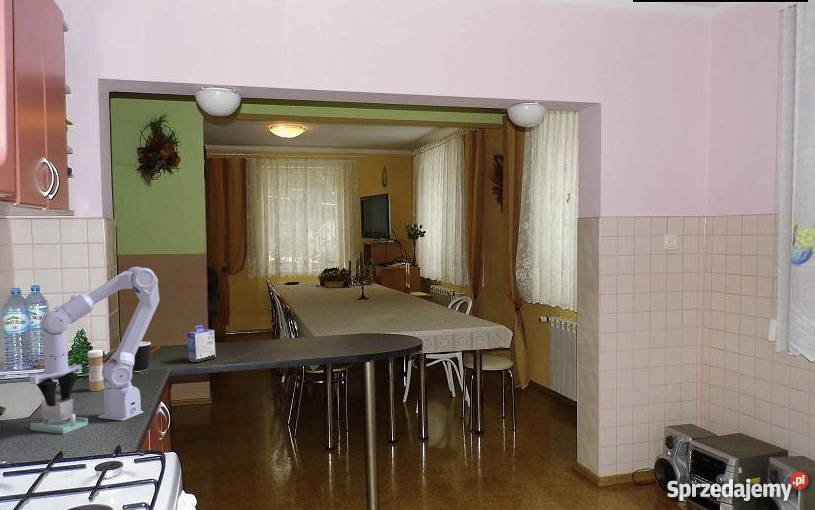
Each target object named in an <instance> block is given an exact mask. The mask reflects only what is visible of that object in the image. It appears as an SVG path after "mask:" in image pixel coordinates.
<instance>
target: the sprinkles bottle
mask: <svg viewBox="0 0 815 510" xmlns="http://www.w3.org/2000/svg"><path fill="white" fill-rule="evenodd" d="M103 356H104V353H103V349H92V350H89V351H87V358H88V380H89V391H91V392H96V391H97V392H98V391H103V390H104V384H105V382H104V379H105V378H104V377H103V375H102V369H103V367H104V363H103V361H104V360H103Z"/></svg>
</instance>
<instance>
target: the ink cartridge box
mask: <svg viewBox="0 0 815 510" xmlns="http://www.w3.org/2000/svg"><path fill="white" fill-rule="evenodd" d="M194 329H195V331H191V332H188V333H186V335H187V337H186V338H187V349H188V350H187V352H188V360H189V359H196V360H197V359H201V358H205V357H208V356H212V355H215V356H216V342H215V329H209V328H206V329H204V327H203V325H202V324H198V325H194Z"/></svg>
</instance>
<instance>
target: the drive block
mask: <svg viewBox="0 0 815 510" xmlns="http://www.w3.org/2000/svg"><path fill="white" fill-rule="evenodd" d="M40 401H41V406H40V407H41V418H42V419H48V420H56V421H63V420H66V419H69V418H70V415H71V414H74V399H73V398H70V399H68V398H61V396H55V406H47V404H46V401H45V399H42V400H40Z"/></svg>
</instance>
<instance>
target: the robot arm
mask: <svg viewBox="0 0 815 510" xmlns="http://www.w3.org/2000/svg"><path fill="white" fill-rule="evenodd" d="M158 285H159V279H158V277H157V275H156V274H155V272H154V271H153V270H152V269H150V268H148V267H141V266H132V267H129V269H128V270H125V271H121V273H119V274H117V275H115V276H114V277H113V278H111V279H109V280H108V281H106V282H104V283H103V284H101V286H100V285H99V287H97V288H96V289H94V290H93V291H91V292H90V293H88V294H78V295H76V294H73V295H72V296H71V297H70V299H69V300H68V301H67V302H66V301H65V303H63V304H62V305H57V306H55V307H54V310H52V311H48V312H45V313H44V314H43V316H42V317H41V320H40V322H39V323H40V324H39V325H40V327H41V328H42V329H43V333H42V337H43V340H42V346H43V348H42V349H43V362H44V363H43V364H44V365H43V366H44V367H43V368H44V369H43V372H42V371H41V372H40V373H36V374H35V375H34V374H33V375H32V376H29V383H30V384H31V385H36V386H37V387H38V389H39V390H40V391H41V393H42V395H43V397H44V400H45V401H46V404H47V406H55V397H56V390H57V389H56V388H57V386H58V385H59V390H60V391H59V392H60V397H61V398H68V399H71V395H72V390H73V388H74V385H75V383H76V381H77V380H78V374H77V373H81V372H82V371H83V370H82V369H83V367H82V364H73V365H69V352H68V351H69V350H68V348H69V347H68V337H67V330H68V327H69V326H70V324H71V325H72V324H73V323H75V322H77V321H78V320H79V319H82V318H83V317H84V316H86V315H88V314H89V313H91V312H92V311H93V309H94V306H95V305H96V304H97V303H99V302H101V301H102V300H104V299H106V298H108V297H109V296H111V295H113V294H115V293H117V292H118V291H120V290H130V289H131V290H132V289H133V290H134V292H135V294H136V296H137V298H138V300H139V302H138V304H137V306H136V309H135V311H134V312H133V315H132V317H131V319H130V321H129V324H128V325H127V328H126V330H125V332H124V334H123V337H122V339H121V341H120V343H119V346H118V347H117V350H116V351H115V352H114V353H112V355H111V357H110V359H109V360H108V361H107V362H106V363H105V364H103V369H102V375H103V377H104V379H105V381H104V389H103V394H104V395H103V399H104V413H103V414H100V415H98V416H97V418H98V419H104V420H105V419H106V420H112V421H113V420H114V421H125V420H129V419H131V418H133V417H135V416H139V415H141V414H143V413H144V411H143V410H142V404H141V402H142V401H141V392H140V390H139V388H138V387H136V386H133V384H132V381H131V380H132V379H133V366H134V356H135V354H136V352H137V350H138V347H139V345H140V343H141V342H143V341H142V340H143V339H144V336H145V334H146V332H147V330H148V328H149V326H150V325H149V324H150V322H151V321H152V318H153V316H154V314H155V311H156V310H157V307H158V305H159V303H160V292H159V286H158ZM53 379H57V381H58V382H57V381H54V380H53Z"/></svg>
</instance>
